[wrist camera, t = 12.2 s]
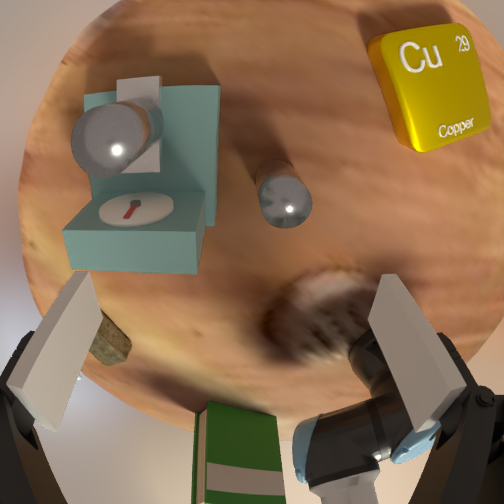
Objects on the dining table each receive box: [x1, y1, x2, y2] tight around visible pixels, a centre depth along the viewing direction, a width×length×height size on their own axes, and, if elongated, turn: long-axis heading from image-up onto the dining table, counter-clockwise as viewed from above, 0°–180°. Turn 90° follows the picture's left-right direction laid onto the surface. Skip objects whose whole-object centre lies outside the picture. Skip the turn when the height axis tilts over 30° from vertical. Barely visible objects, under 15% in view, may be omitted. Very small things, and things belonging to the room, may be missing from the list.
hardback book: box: [191, 401, 286, 504], centre depth 54 cm, size 18×7×24 cm, turn 59°
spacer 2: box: [256, 160, 312, 228], centre depth 33 cm, size 5×5×8 cm
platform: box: [117, 76, 163, 173], centre depth 25 cm, size 9×4×3 cm, turn 176°
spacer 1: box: [71, 98, 164, 178], centre depth 21 cm, size 5×5×8 cm
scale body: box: [62, 85, 221, 274], centre depth 27 cm, size 15×14×14 cm
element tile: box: [367, 23, 491, 153], centre depth 28 cm, size 15×15×5 cm
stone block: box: [89, 311, 132, 366], centre depth 45 cm, size 6×12×5 cm, turn 27°
